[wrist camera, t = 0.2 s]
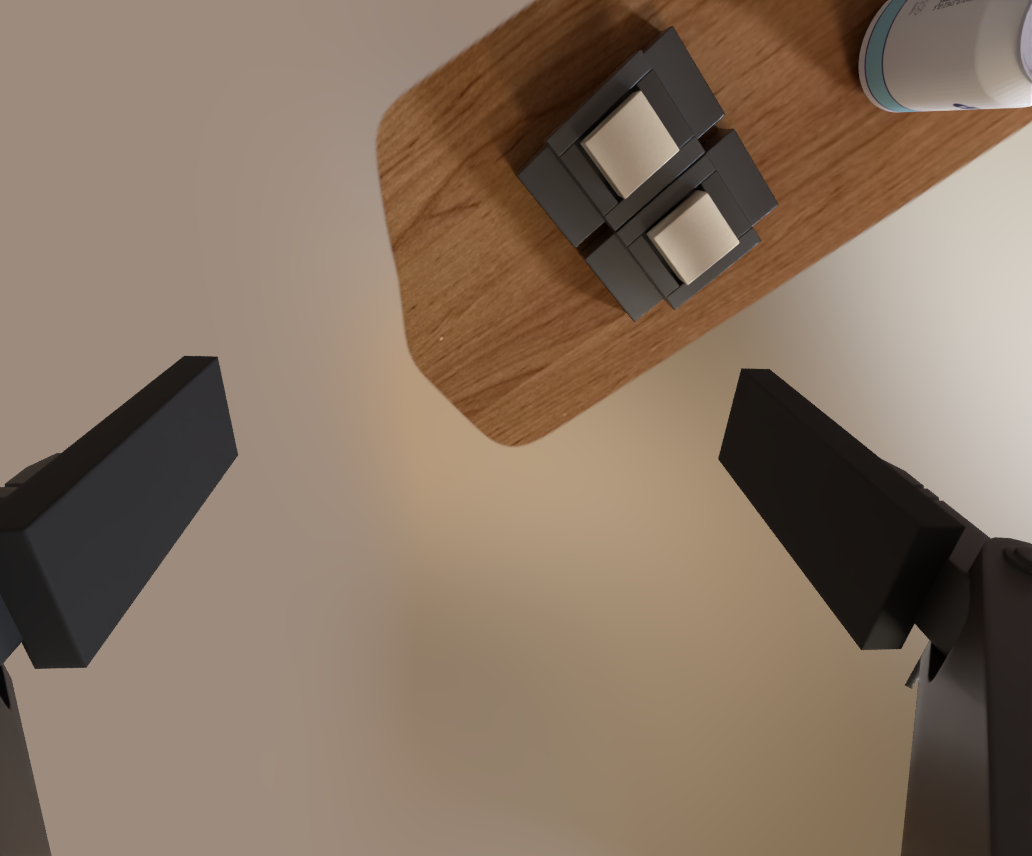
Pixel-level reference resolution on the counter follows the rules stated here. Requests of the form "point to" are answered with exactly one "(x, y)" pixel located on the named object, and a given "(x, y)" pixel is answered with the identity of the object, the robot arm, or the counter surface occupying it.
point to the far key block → (629, 252)
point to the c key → (630, 144)
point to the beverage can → (948, 55)
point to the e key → (693, 237)
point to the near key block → (562, 160)
